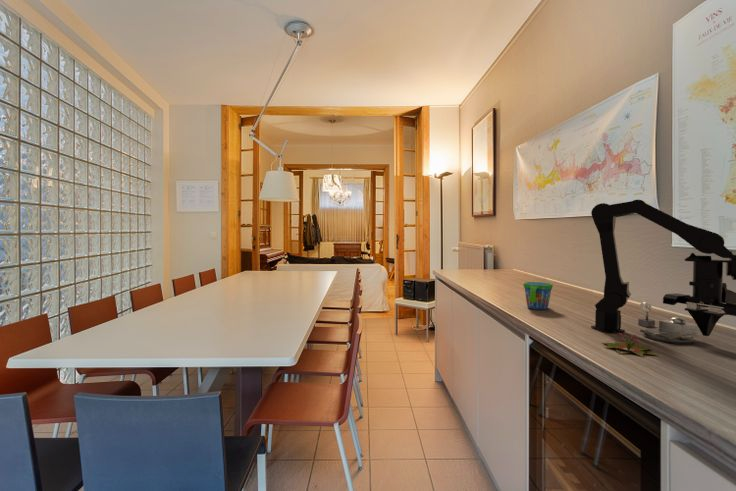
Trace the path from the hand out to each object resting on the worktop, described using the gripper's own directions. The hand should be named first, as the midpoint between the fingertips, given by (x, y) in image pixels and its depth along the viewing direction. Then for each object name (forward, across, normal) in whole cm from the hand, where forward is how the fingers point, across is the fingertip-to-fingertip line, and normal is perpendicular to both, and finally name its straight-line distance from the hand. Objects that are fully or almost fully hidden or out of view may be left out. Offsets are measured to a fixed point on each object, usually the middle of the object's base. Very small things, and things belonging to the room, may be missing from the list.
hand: (706, 335), depth 94 cm
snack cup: (+2, +50, +11) cm, 52 cm away
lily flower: (+3, +2, +24) cm, 24 cm away
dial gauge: (+2, +19, -4) cm, 20 cm away
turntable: (+2, +7, +4) cm, 8 cm away
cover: (+1, +7, 0) cm, 7 cm away
